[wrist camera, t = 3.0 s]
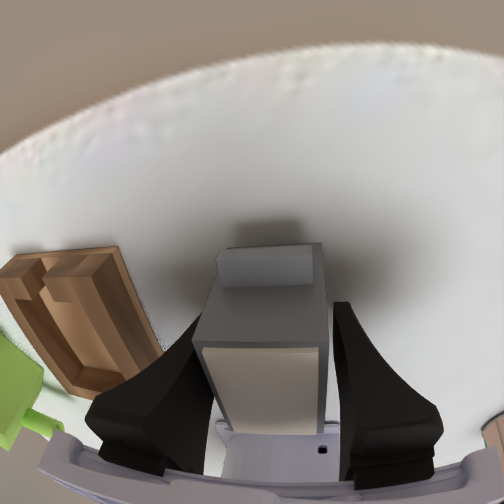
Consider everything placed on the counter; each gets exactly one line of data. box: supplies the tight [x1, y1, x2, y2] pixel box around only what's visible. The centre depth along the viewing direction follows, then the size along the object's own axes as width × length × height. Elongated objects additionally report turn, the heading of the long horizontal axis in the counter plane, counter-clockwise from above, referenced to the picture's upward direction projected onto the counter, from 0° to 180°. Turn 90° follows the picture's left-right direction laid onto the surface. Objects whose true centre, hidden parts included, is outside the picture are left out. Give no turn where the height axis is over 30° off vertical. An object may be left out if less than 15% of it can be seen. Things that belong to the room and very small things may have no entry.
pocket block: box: [0, 246, 163, 400], centre depth 17 cm, size 9×11×3 cm
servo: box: [192, 243, 329, 435], centre depth 12 cm, size 4×8×6 cm, turn 9°
